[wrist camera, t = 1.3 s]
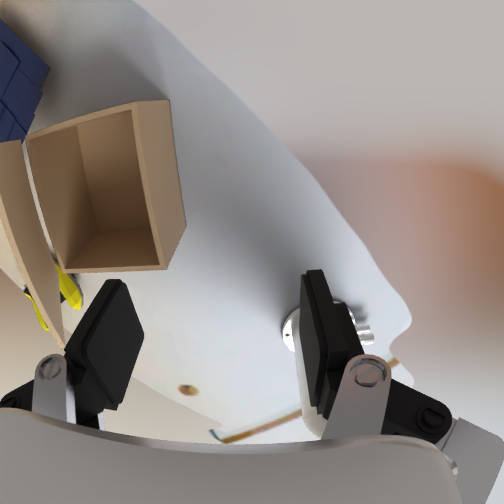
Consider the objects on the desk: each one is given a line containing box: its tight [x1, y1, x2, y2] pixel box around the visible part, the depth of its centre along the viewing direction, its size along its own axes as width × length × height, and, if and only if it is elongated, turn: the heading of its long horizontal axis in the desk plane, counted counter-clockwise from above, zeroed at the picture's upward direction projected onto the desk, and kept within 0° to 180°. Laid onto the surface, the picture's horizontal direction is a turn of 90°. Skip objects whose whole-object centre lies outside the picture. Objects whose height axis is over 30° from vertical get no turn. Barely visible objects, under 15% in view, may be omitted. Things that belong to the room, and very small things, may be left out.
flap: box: [0, 140, 66, 349], centre depth 21 cm, size 14×17×1 cm
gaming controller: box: [22, 260, 83, 331], centre depth 43 cm, size 15×6×10 cm
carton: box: [25, 100, 186, 274], centre depth 31 cm, size 14×17×11 cm
